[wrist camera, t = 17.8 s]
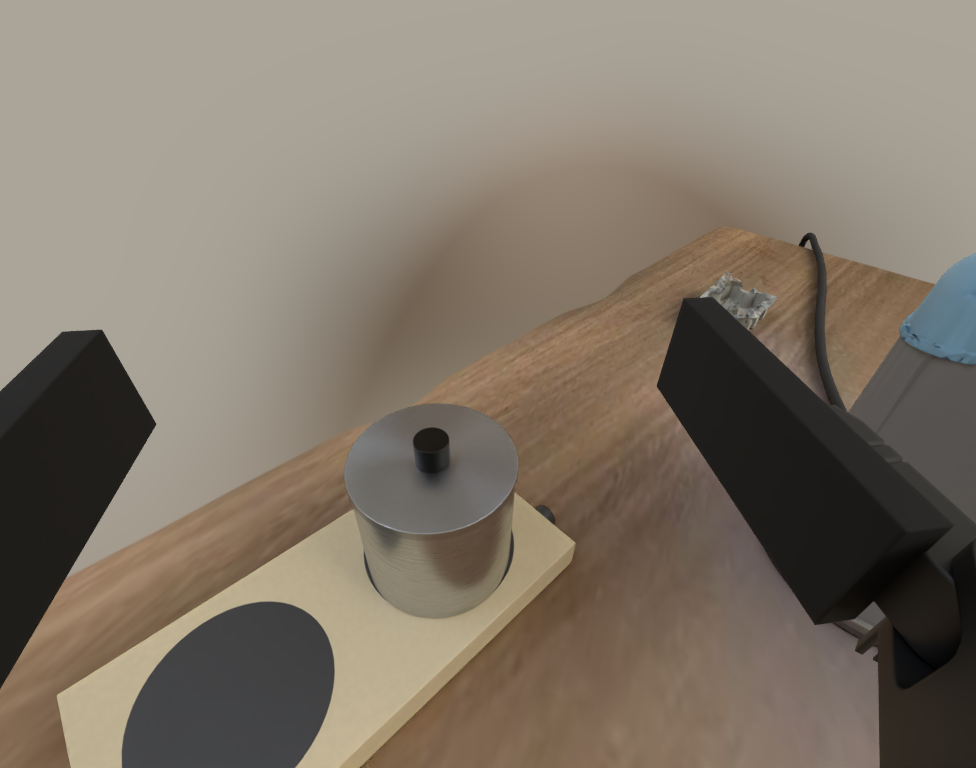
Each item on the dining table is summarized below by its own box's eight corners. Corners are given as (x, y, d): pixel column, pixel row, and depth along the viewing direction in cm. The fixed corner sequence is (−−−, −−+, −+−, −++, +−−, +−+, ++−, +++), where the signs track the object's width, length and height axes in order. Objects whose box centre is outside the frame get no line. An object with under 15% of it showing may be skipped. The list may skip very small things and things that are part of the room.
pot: (456, 471, 38) (452, 365, 31) (540, 559, 32) (557, 451, 25) (342, 537, 33) (309, 428, 26) (416, 655, 27) (398, 552, 21)
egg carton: (719, 296, 68) (728, 269, 65) (773, 316, 64) (785, 288, 61) (682, 321, 62) (691, 293, 59) (739, 345, 58) (751, 316, 55)
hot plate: (466, 457, 43) (465, 437, 41) (580, 554, 35) (585, 534, 34) (79, 711, 27) (55, 695, 25) (140, 981, 20) (111, 981, 18)
